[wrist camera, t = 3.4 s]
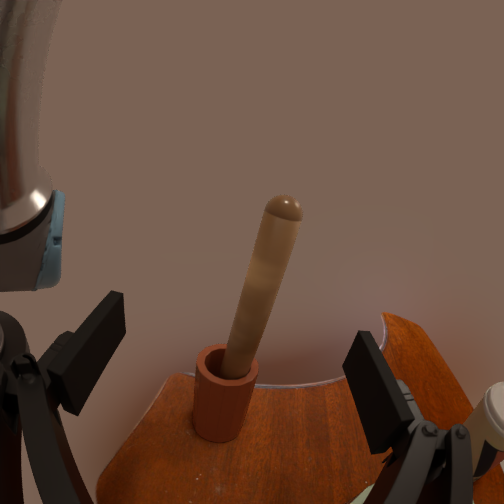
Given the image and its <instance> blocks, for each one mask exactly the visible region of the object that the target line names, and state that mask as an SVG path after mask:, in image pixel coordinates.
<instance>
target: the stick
mask: <svg viewBox="0 0 504 504" xmlns="http://www.w3.org/2000/svg"><path fill="white" fill-rule="evenodd" d="M302 217H303V212H302V208H301V205H300V204H299V202H298V201H297V200H296V199H295V198H293V197H291V196H288V195H279V196H276V197H274V198H272V199H271V200H270V201H269V202H268V203H267V205H266V207H265V210H264V214H263V217H262V221H261V225H260V228H259V232H258V235H257V239H256V243H255V246H254V250H253V253H252V257H251V260H250V264H249V268H248V271H247V275H246V278H245V282H244V286H243V289H242V293H241V297H240V300H239V304H238V307H237V311H236V315H235V318H234V322H233V325H232V329H231V333H230V336H229V340H228V343H227V347H226V350H225V354H224V357H223V361H222V365H221V368H220V372H219V375H218V378H221V379H225V380H238V379H240V378H243V377H245V376H246V375H247V374H248V372H249V369H250V367H251V364H252V362H253V359H254V356H255V354H256V351H257V348H258V346H259V343H260V340H261V338H262V335H263V332H264V329H265V327H266V324H267V321H268V318H269V316H270V312H271V310H272V307H273V304H274V302H275V299H276V296H277V293H278V290H279V287H280V284H281V281H282V279H283V276H284V272H285V270H286V267H287V264H288V261H289V258H290V255H291V252H292V249H293V246H294V243H295V240H296V237H297V234H298V230H299V227H300V224H301V221H302Z"/></svg>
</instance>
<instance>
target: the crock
mask: <svg viewBox="0 0 504 504" xmlns="http://www.w3.org/2000/svg"><path fill="white" fill-rule="evenodd" d="M226 347H227V344H216V345H212V346H208V347H206V348H205V349H204V350H202V351H201V352H200V353H199V354H198V357H197V361H196V373H195V386H194V402H193V426H194V429H195V430H196V432H197V433H198V434H199V435H200V436H201V437H203V438H204V439H206V440H209V441H212V442H227V441H230V440H232V439H234V438H235V437H236V436H238V434H239V433H240V431H241V428H242V426H243V423H244V420H245V417H246V413H247V410H248V406H249V403H250V400H251V396H252V393H253V389H254V386H255V382H256V379H257V375H258V362H257V361H256V359H255V358H254V359H253V362H252V364H251V367H250V369H249V372H248V374H247V375H246V376H245V377H243V378H240V379H238V380H225V379H221V378H218V375H219V372H220V368H221V365H222V361H223V357H224V354H225V350H226Z"/></svg>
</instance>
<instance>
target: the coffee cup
mask: <svg viewBox="0 0 504 504" xmlns="http://www.w3.org/2000/svg"><path fill="white" fill-rule="evenodd" d="M463 425H464V426H465V427H466V428H467V429H468V431H469V433H470V439H471V450H472V465H473V482H474V481H476V480H477V479H479V478H480V477H482V476H483V475H484V474H486V473H487V472H488V471H490V470H491V469H492V468H494V467H495V466H496V465H498V464H499V463H500V462H501V461H502V460H504V382H499V383H496V384H495V385H493V386H491V387H490V388H489V389H488V390H487V391H486V393H485V394H484V397H483V399H482V400H481V401H480V403H479V404H478V405H477V407H476V408H475V409H474V411H473V412H472V413H471V415H470V416H469V417H468V419H467V420H466V421H465V423H464V424H463ZM445 465H446V462H445Z"/></svg>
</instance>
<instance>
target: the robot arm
mask: <svg viewBox="0 0 504 504" xmlns="http://www.w3.org/2000/svg"><path fill="white" fill-rule="evenodd" d="M61 3H62V0H0V292H8V291H36V290H37V289H44V288H51V287H54V286H55V285H57V284H58V282H59V280H60V278H61V248H62V230H63V217H64V205H65V194H64V193H63V192H61V191H58V190H53V191H52V181H51V177H50V175H49V174H48V172H47V171H46V170H45V169H44V168H42V167H41V166H39V164H38V136H39V134H38V133H39V116H40V104H41V94H42V86H43V79H44V72H45V65H46V61H47V55H48V51H49V46H50V41H51V37H52V33H53V29H54V25H55V22H56V18H57V15H58V12H59V9H60V5H61ZM125 334H126V327H125V314H124V299H123V293H120V292H116V291H110V293H109V294H108V295H107V296H106V297H105V298H104V299H103V300H102V301H101V302H100V303H99V305H98V306H97V307H96V308H95V309H94V310H93V312H92V313H91V314H90V315H89V316H88V317H87V318H86V320H85V321H84V322H83V323H82V324H81V325H80V327H79V328H78V329H77V330H76V331H75V333H72V332H70V331H66V332H64V333H63V334H61V335H59V336H58V337H57V339H56V340H55V341H54V343H52V344H51V346H50V347H49V348H48V349H47V350H46V352H45V353H44V354H43V355H42V357H41V358H40V359H39V360H38V361H37V362H36V359H35V357H34V356H33V355H32V354H30V353H28V352H21V353H17V354H16V355H14V356H13V357H12V358H11V360H10V363H9V365H10V367H11V370H12V371H8V370H5V369H4V367H3V364H2V363H1V362H0V504H24V499H23V488H22V474H21V437H22V431H23V436H24V441H25V445H26V450H27V454H28V458H29V462H30V465H31V469H32V473H33V476H34V479H35V482H36V485H37V488H38V491H39V494H40V497H41V499H42V502H43V504H94V503H93V501H92V499H91V497H90V495H89V493H88V491H87V489H86V486H85V484H84V482H83V480H82V478H81V476H80V473H79V471H78V468H77V466H76V463H75V460H74V458H73V455H72V453H71V450H70V447H69V444H68V441H67V438H66V435H65V431H64V428H63V425H62V421H61V418H60V414H59V411H58V409H57V408H58V406H59V405H60V403H61V405H62V407H63V409H64V410H65V411H67V412H69V413H71V414H74V415H76V416H78V415H79V413H80V412H81V410H82V408H83V406H84V404H85V402H86V400H87V399H88V397H89V395H90V393H91V391H92V390H93V388H94V386H95V384H96V382H97V381H98V379H99V377H100V376H101V374H102V372H103V370H104V369H105V367H106V365H107V363H108V362H109V360H110V359H111V357H112V355H113V354H114V352H115V350H116V349H117V347H118V345H119V344H120V342H121V340H122V339H123V337H124V336H125ZM5 347H6V340H5V336H4V333H3V330H2V327H1V325H0V361H1V359H2V357H3V355H4V352H5ZM342 367H343V370H344V373H345V375H346V378H347V381H348V384H349V387H350V390H351V393H352V396H353V399H354V402H355V405H356V408H357V411H358V414H359V417H360V420H361V423H362V426H363V429H364V432H365V436H366V439H367V442H368V445H369V448H370V452H371V455H372V454H379V453H385V452H386V451H387V450H388V449H389V448H390V447H392V450H393V452H392V453H391V454H390V455H388V456H387V457H386V458H385V459H384V460H383V462H382V463H384V462H386V463H385V465H384V467H383V469H382V471H381V473H380V475H379V477H378V479H377V480H376V482H375V484H374V486H373V487H372V489H371V491H370V493H369V494H368V496H367V498H366V499H365V501H364V502H363V504H473V465H472V450H471V439H470V433H469V431H468V429H467V428H466V427H465V426H464V425H461V424H455V425H453V426H452V428H451V429H450V430H440V429H438V427H437V426H436V425H435V424H434V423H432V422H431V421H427V420H426V421H425V420H424V418H423V416H422V414H421V412H420V410H419V408H418V406H417V404H416V402H415V400H414V398H413V396H412V395H411V392H410V390H409V388H408V387H407V385H406V384H405V383H404V382H403V381H402V380H396V379H395V377H394V375H393V373H392V371H391V369H390V367H389V366H388V364H387V362H386V360H385V358H384V356H383V354H382V353H381V351H380V349H379V347H378V345H377V343H376V342H375V340H374V338H373V336H372V334H371V333H370V331H358V333H357V335H356V337H355V339H354V342H353V344H352V346H351V349H350V350H349V352H348V355H347V357H346V359H345V361H344V363H343V365H342ZM445 462H446V465H445Z"/></svg>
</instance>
